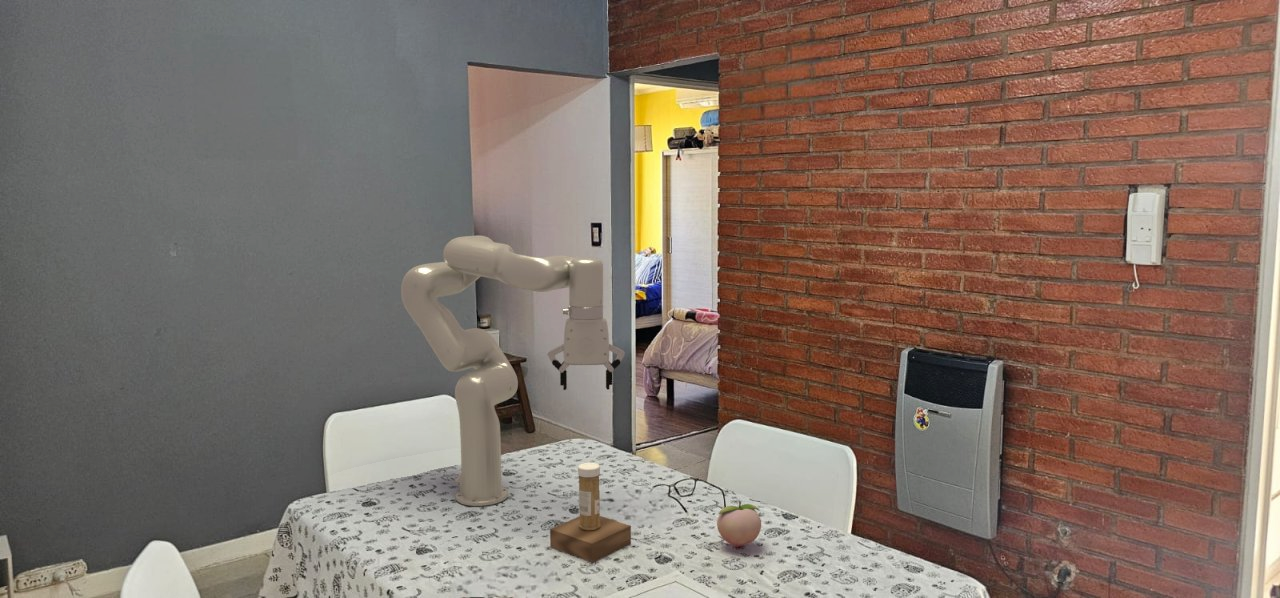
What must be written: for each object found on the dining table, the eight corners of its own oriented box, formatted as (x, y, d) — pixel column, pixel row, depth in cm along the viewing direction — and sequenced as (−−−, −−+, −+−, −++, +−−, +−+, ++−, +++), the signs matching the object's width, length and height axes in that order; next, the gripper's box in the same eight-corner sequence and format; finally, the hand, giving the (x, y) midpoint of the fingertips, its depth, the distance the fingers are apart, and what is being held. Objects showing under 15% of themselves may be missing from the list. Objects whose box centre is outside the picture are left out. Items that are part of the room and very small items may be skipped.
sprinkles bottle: (604, 528, 177) (603, 466, 176) (585, 533, 175) (584, 470, 173) (593, 521, 181) (592, 460, 180) (574, 526, 179) (574, 464, 177)
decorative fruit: (732, 559, 171) (732, 512, 170) (710, 545, 179) (711, 499, 177) (770, 550, 176) (771, 504, 174) (747, 536, 183) (748, 492, 182)
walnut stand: (550, 547, 178) (550, 528, 177) (589, 529, 187) (589, 512, 186) (592, 562, 170) (592, 543, 170) (630, 543, 179) (630, 525, 179)
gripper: (546, 316, 185) (547, 392, 187) (626, 315, 186) (625, 391, 188) (547, 311, 192) (548, 385, 194) (623, 310, 193) (623, 384, 195)
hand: (586, 388), depth 191 cm, fingers open, 9 cm apart
